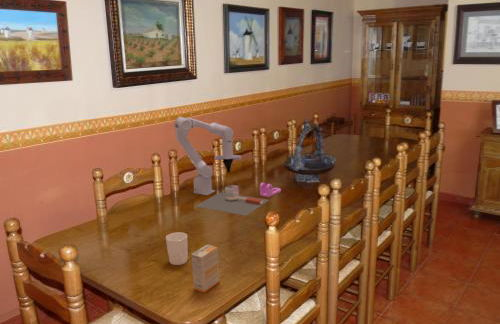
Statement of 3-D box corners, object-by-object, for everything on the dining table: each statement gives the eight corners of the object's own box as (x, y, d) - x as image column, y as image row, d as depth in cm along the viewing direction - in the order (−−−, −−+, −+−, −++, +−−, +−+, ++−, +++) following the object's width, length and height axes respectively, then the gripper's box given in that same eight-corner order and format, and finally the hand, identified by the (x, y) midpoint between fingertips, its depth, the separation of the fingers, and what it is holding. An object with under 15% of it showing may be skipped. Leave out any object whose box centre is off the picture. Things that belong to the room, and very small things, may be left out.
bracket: (268, 197, 235) (268, 185, 233) (260, 196, 239) (259, 183, 237) (282, 191, 245) (282, 179, 243) (274, 189, 248) (274, 177, 246)
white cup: (168, 257, 172) (166, 232, 170) (189, 255, 173) (187, 231, 170) (167, 266, 165) (164, 241, 162) (188, 265, 165) (186, 240, 163)
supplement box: (209, 278, 155) (206, 243, 152) (220, 282, 153) (218, 247, 149) (193, 289, 149) (190, 253, 146) (204, 293, 146) (201, 256, 143)
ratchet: (223, 200, 232) (222, 191, 231) (230, 196, 238) (229, 187, 237) (258, 206, 222) (258, 196, 221) (265, 201, 228) (265, 192, 227)
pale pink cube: (225, 196, 232) (224, 187, 231) (230, 193, 236) (230, 184, 235) (233, 197, 230) (233, 188, 228) (238, 194, 234) (238, 185, 232)
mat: (194, 206, 225) (194, 206, 225) (220, 192, 245) (220, 192, 245) (245, 216, 211) (245, 215, 211) (269, 200, 231) (269, 199, 231)
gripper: (213, 150, 244) (214, 174, 247) (240, 149, 243) (241, 173, 246) (215, 147, 250) (216, 170, 254) (241, 146, 249) (242, 170, 253)
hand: (228, 172), depth 250 cm, fingers closed
